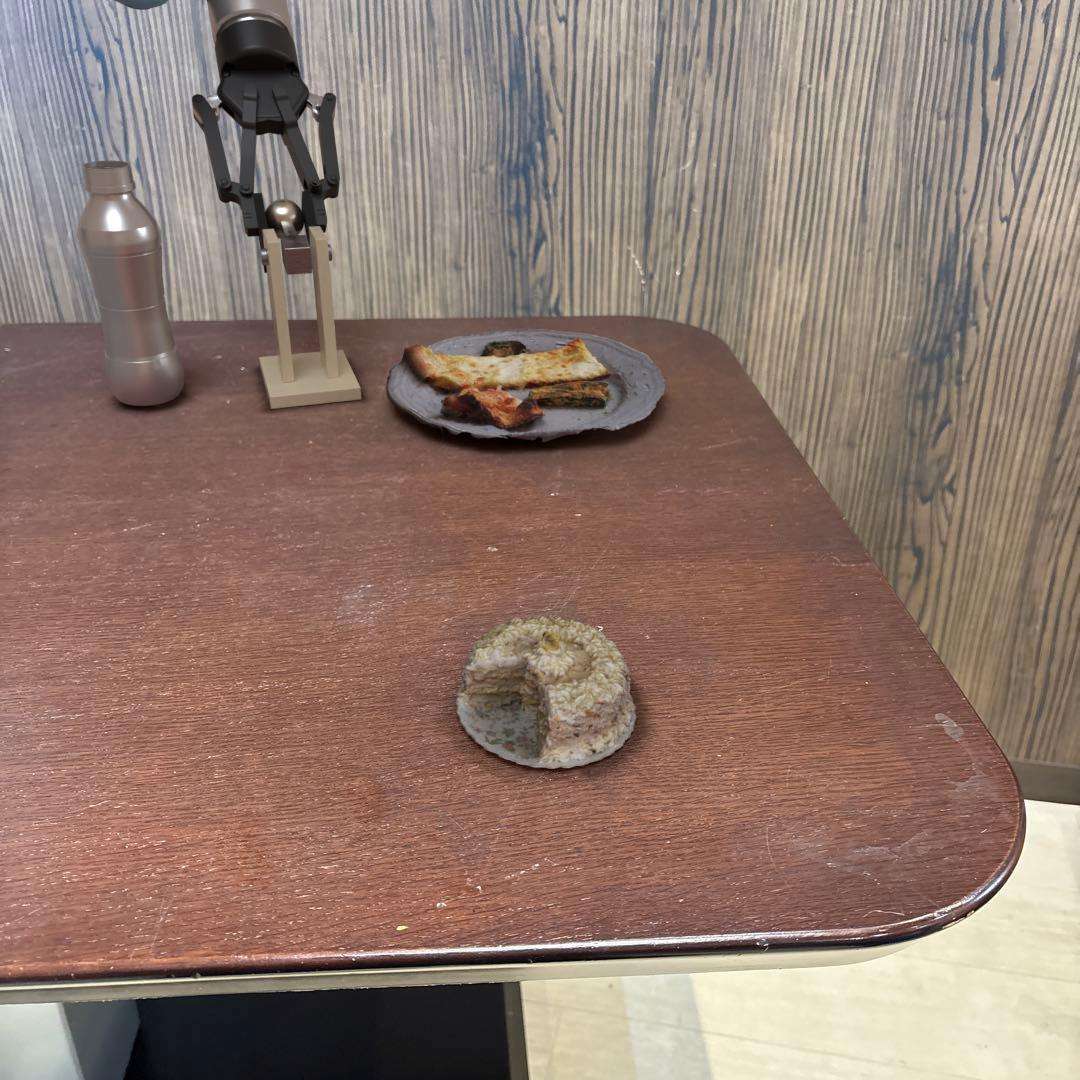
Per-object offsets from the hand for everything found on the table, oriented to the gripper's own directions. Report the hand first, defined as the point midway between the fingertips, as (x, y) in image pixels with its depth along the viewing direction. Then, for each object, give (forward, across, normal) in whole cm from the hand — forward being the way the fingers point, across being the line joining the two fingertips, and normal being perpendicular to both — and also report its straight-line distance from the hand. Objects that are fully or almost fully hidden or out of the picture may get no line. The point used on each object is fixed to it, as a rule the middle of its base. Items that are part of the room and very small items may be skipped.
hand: (292, 263), depth 92 cm
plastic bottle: (+10, +14, -4) cm, 18 cm away
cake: (+45, -6, +31) cm, 55 cm away
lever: (-1, 0, 0) cm, 1 cm away
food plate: (+16, -18, +2) cm, 25 cm away
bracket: (+10, 0, -4) cm, 11 cm away
